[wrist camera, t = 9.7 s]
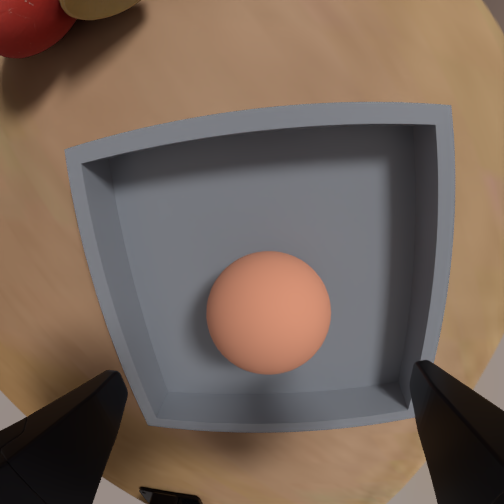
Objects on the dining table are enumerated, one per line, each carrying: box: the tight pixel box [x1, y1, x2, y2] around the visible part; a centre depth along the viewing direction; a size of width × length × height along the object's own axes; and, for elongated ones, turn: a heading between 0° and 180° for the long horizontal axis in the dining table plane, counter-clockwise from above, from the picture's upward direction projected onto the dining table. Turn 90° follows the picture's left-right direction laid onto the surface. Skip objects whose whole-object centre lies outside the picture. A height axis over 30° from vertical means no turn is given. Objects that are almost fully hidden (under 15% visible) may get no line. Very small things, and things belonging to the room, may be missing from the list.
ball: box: [206, 251, 331, 375], centre depth 13 cm, size 5×5×5 cm
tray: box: [65, 102, 455, 433], centre depth 15 cm, size 16×16×3 cm
